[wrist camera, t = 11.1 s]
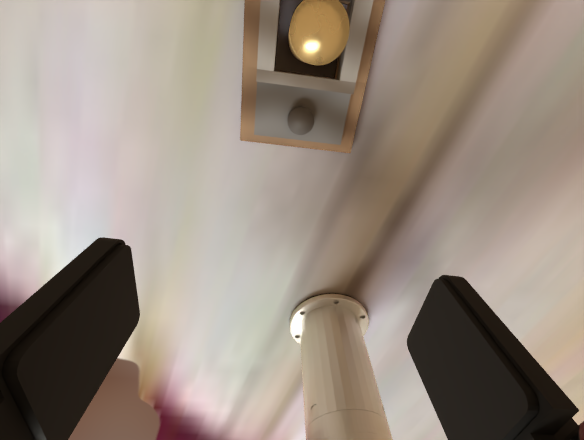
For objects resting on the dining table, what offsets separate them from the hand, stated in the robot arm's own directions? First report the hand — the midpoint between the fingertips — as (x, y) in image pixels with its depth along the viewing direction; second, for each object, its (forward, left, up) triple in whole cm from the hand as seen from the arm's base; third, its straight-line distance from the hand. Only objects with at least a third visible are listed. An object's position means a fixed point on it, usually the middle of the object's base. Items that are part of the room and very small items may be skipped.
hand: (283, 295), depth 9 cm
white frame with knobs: (+8, -2, -25) cm, 26 cm away
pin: (+8, -1, -25) cm, 26 cm away
